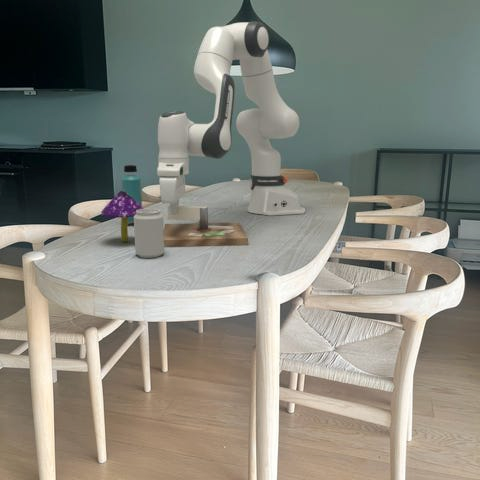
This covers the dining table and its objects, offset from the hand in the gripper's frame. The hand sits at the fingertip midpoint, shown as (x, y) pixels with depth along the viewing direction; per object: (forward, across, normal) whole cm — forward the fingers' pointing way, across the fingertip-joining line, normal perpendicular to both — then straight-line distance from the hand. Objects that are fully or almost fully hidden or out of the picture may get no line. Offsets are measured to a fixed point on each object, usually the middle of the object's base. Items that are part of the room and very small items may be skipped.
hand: (174, 214), depth 145 cm
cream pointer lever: (+5, -1, +8) cm, 9 cm away
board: (+7, -1, +9) cm, 11 cm away
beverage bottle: (+7, -17, -17) cm, 25 cm away
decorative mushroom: (+7, +8, -13) cm, 17 cm away
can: (+8, +21, -3) cm, 22 cm away
